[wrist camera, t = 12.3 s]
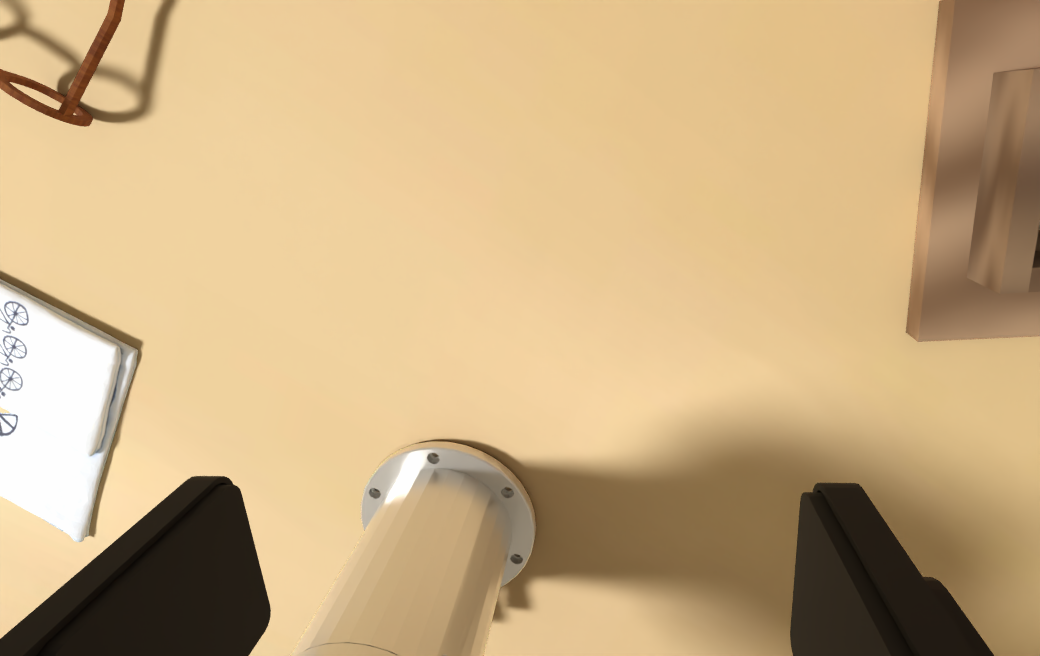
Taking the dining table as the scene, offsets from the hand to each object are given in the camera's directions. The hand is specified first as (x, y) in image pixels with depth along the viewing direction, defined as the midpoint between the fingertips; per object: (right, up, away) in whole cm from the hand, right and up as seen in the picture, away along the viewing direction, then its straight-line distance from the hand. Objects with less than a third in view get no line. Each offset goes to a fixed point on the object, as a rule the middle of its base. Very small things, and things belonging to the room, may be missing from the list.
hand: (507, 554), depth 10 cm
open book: (-39, -1, +37) cm, 54 cm away
